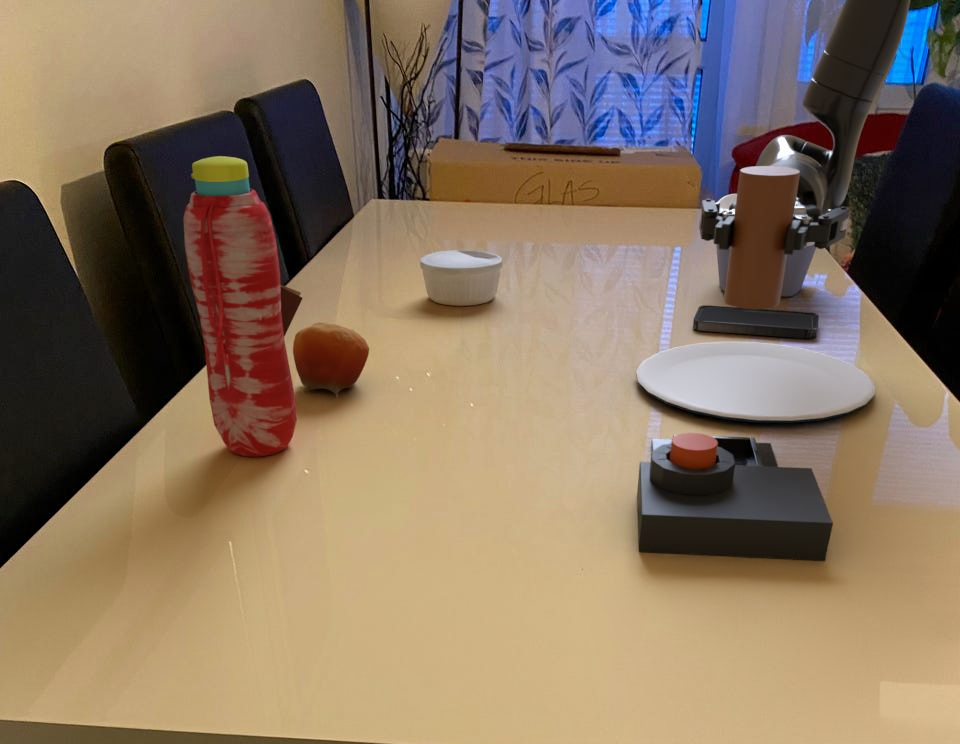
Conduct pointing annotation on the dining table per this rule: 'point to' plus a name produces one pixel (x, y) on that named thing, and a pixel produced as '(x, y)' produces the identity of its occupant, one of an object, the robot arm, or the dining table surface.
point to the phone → (756, 321)
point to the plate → (755, 382)
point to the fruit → (329, 356)
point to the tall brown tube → (760, 236)
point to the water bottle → (240, 308)
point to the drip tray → (739, 450)
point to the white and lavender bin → (793, 269)
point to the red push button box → (730, 509)
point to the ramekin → (461, 276)
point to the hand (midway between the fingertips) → (757, 239)
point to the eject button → (693, 450)
